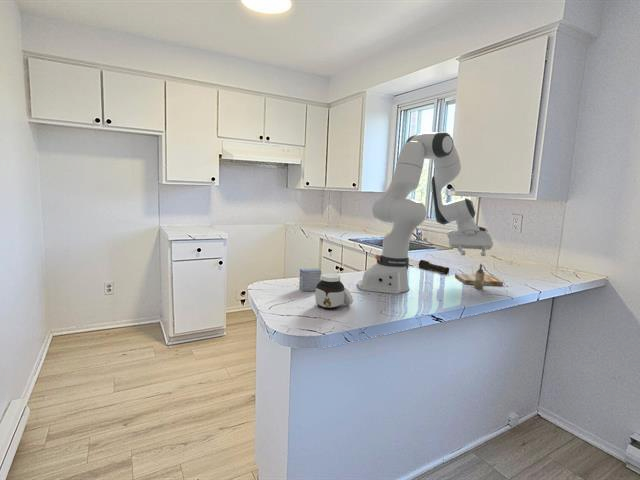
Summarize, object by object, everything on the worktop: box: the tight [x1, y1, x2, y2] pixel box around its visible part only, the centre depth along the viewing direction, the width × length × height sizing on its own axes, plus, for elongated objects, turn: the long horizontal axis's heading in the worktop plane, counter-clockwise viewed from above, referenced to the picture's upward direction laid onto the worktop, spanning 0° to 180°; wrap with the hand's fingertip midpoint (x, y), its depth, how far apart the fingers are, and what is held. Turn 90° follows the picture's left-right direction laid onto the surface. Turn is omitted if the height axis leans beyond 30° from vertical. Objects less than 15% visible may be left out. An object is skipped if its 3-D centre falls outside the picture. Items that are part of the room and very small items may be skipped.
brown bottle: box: [473, 263, 486, 290], centre depth 163 cm, size 4×4×11 cm
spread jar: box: [314, 272, 354, 311], centre depth 131 cm, size 12×11×12 cm
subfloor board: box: [454, 273, 504, 287], centre depth 177 cm, size 18×13×2 cm
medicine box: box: [298, 267, 322, 292], centre depth 150 cm, size 8×4×9 cm, turn 111°
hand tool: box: [418, 259, 450, 275], centre depth 196 cm, size 19×4×5 cm, turn 32°
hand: (473, 255), depth 171 cm, fingers open, 8 cm apart
